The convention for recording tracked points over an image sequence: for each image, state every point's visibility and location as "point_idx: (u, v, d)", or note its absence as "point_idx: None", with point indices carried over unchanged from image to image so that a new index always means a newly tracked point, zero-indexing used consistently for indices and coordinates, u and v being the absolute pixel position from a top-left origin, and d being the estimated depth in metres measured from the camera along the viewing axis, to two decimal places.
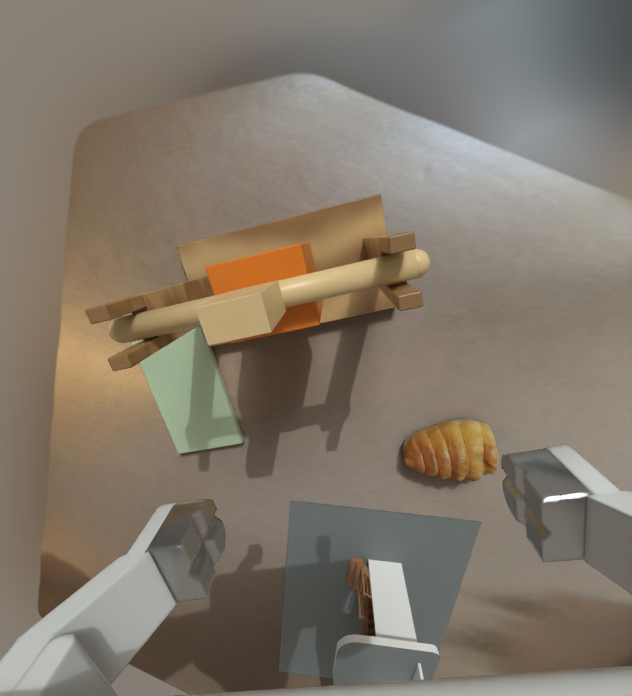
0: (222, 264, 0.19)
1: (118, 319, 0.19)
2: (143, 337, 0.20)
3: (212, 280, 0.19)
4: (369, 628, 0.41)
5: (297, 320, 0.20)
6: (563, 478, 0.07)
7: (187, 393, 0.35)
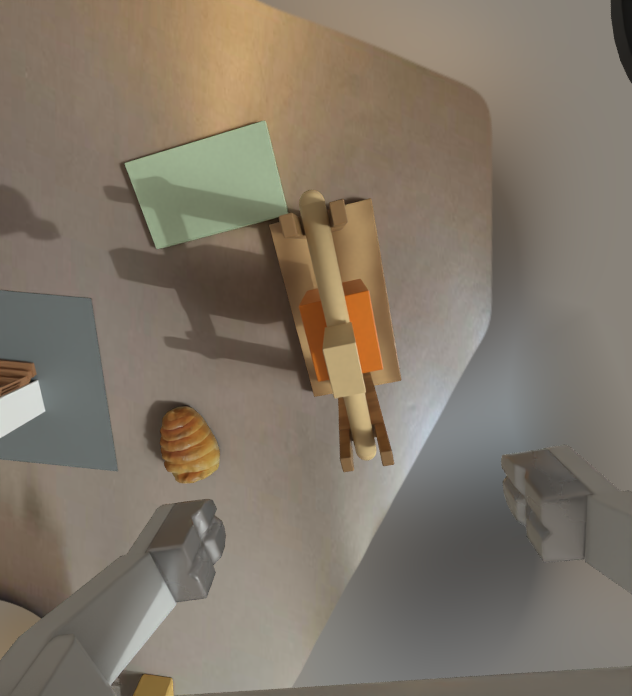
0: (370, 306, 0.22)
1: (324, 204, 0.19)
2: (306, 230, 0.19)
3: (357, 296, 0.22)
4: None
5: (321, 365, 0.24)
6: (563, 478, 0.07)
7: (209, 187, 0.30)
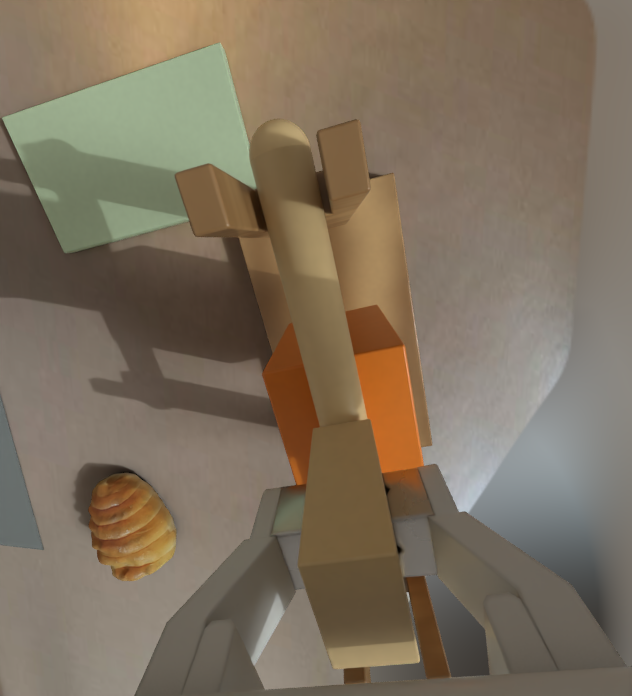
0: (407, 376, 0.11)
1: (309, 155, 0.08)
2: (267, 218, 0.08)
3: (380, 356, 0.11)
4: None
5: None
6: (417, 498, 0.07)
7: (137, 156, 0.19)
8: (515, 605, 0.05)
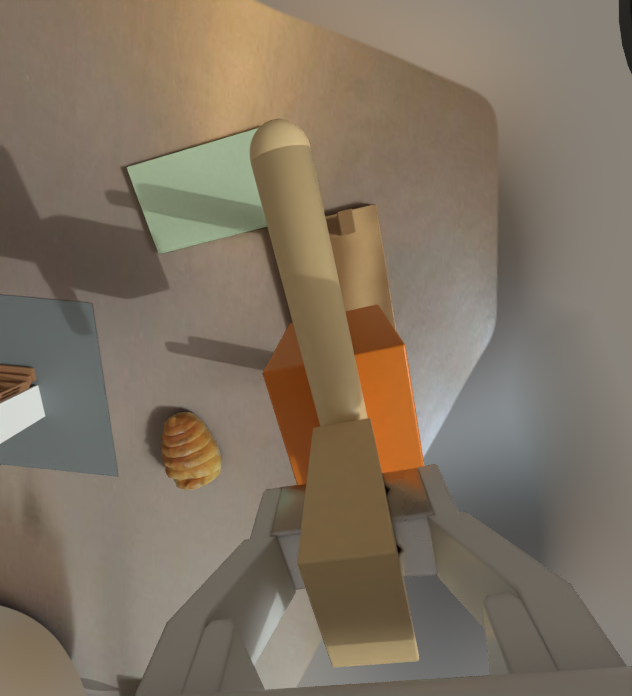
0: (407, 376, 0.11)
1: (309, 155, 0.08)
2: (268, 218, 0.08)
3: (380, 355, 0.11)
4: None
5: None
6: (417, 498, 0.07)
7: (212, 192, 0.30)
8: (515, 604, 0.05)
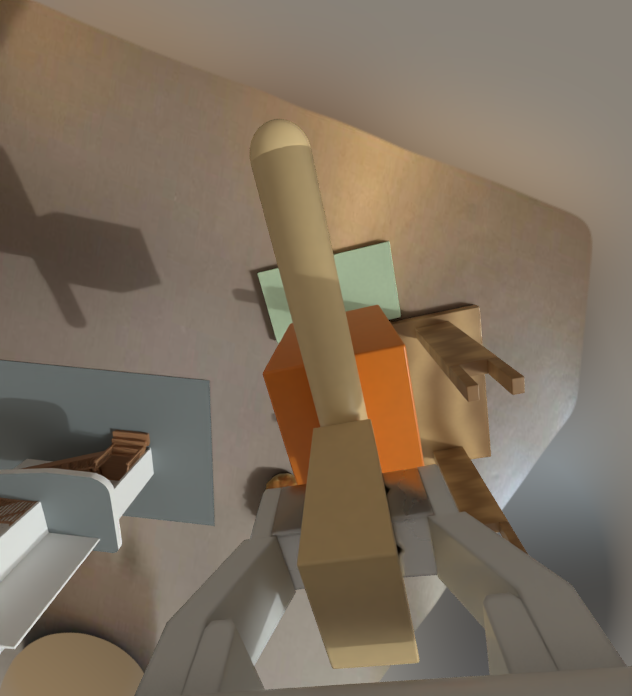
0: (407, 376, 0.11)
1: (309, 155, 0.08)
2: (268, 218, 0.08)
3: (380, 356, 0.11)
4: (77, 464, 0.40)
5: None
6: (417, 498, 0.07)
7: None
8: (514, 605, 0.05)
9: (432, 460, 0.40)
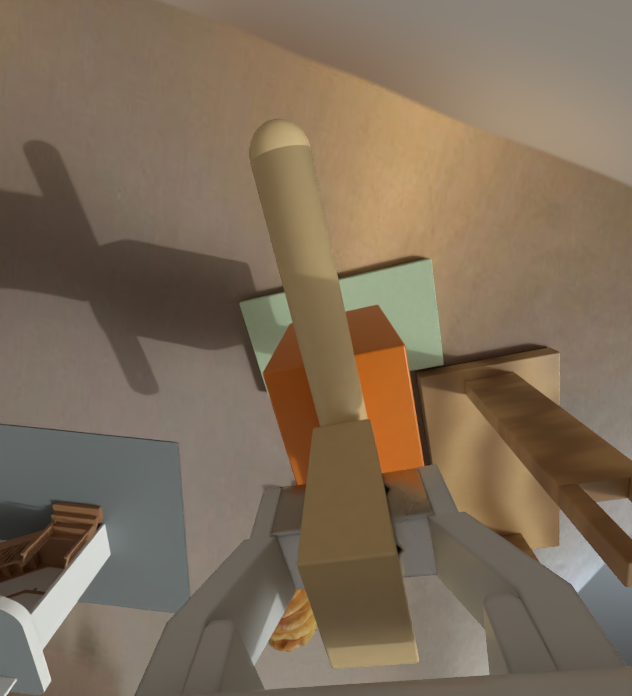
0: (407, 376, 0.11)
1: (309, 155, 0.08)
2: (268, 218, 0.08)
3: (380, 356, 0.11)
4: (2, 553, 0.30)
5: None
6: (417, 498, 0.07)
7: None
8: (516, 606, 0.05)
9: None
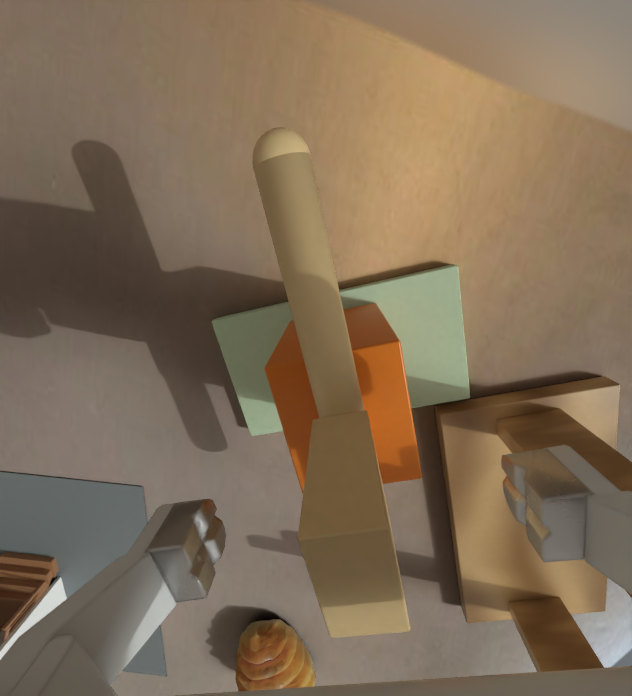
0: (402, 370, 0.11)
1: (309, 161, 0.08)
2: (270, 220, 0.09)
3: (377, 351, 0.11)
4: None
5: None
6: (563, 478, 0.07)
7: None
8: None
9: (507, 613, 0.24)
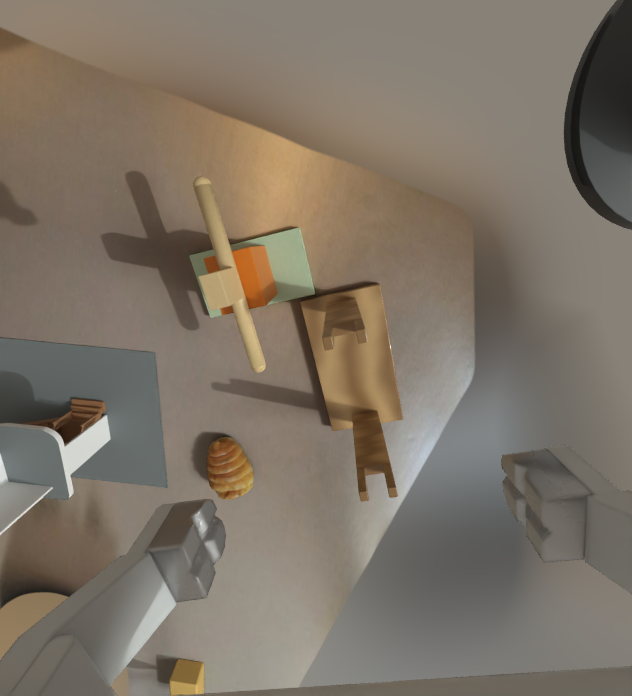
0: (252, 258, 0.32)
1: (209, 186, 0.29)
2: (199, 203, 0.29)
3: (242, 251, 0.32)
4: None
5: None
6: (563, 478, 0.07)
7: None
8: None
9: (352, 423, 0.45)
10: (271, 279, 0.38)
